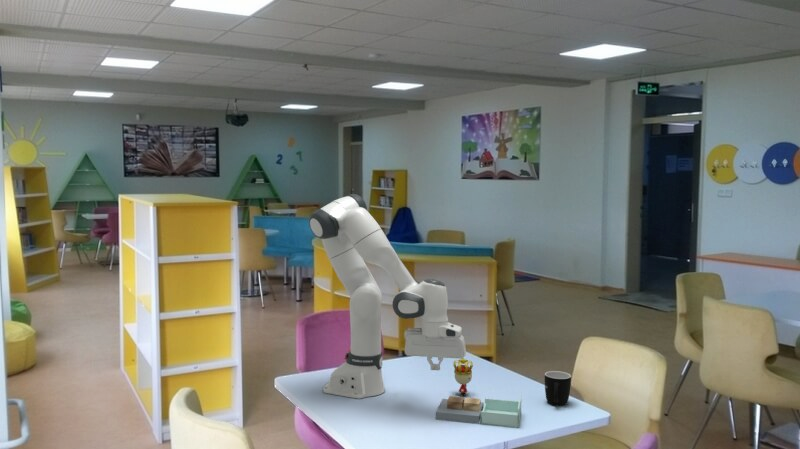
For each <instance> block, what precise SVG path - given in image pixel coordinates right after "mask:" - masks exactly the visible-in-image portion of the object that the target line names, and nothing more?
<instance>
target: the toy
mask: <svg viewBox="0 0 800 449" xmlns="http://www.w3.org/2000/svg"><path fill="white" fill-rule="evenodd" d="M469 365H470V366H469ZM473 366H474V364H473V361H472V360H470V359H469V360H468V359H467V358H465V357H463V358H462V359H460V358H458V359H455V360H454V361H453V368H454V371H453V373H454V379H455V381H456V382H457V384H459V385H460V387H459V389H458V392H459V393H460V397H465V396H466V394H467V393H468V389H467V385H468V384H469V383H470V382H471V381H472V378H473V374H472V373H473V372H472V369H473Z"/></svg>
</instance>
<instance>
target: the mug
mask: <svg viewBox="0 0 800 449" xmlns="http://www.w3.org/2000/svg"><path fill="white" fill-rule="evenodd" d="M571 386H572V376H571V374H570V373H568V372H565V371H559V370H558V371H557V370H550V371H546V372H545V373H544V393H545V398H546V403H547V404H549V405H552V406H554V407H564V406H566V405H567V404H568V402H569V399H570V394H571V393H570V391H571Z"/></svg>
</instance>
